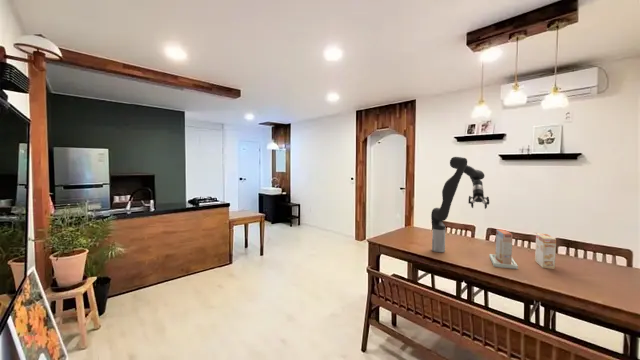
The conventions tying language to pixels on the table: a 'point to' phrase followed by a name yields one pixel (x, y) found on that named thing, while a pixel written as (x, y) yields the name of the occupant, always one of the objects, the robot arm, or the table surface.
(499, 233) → the cracker box
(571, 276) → the table surface
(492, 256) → the sage tray
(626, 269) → the table surface
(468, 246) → the table surface
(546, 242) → the coffeecake box
